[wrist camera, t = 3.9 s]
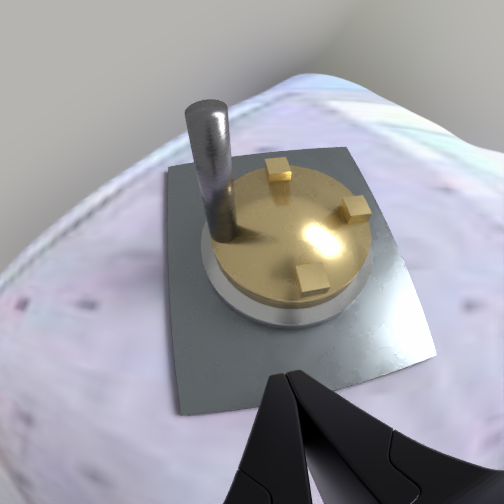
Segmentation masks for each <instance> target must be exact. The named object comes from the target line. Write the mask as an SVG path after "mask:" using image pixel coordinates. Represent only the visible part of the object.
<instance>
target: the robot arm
mask: <svg viewBox="0 0 504 504" xmlns="http://www.w3.org/2000/svg"><path fill="white" fill-rule="evenodd" d="M307 466H308V468H309V470H310V473H311V475H312V477H313V480H314V482H315V484H316V486H317V489H318V491H319V493H320V496H321V498H322V500H323V502H324V504H504V470H494V469H489V468H485V467H481V466H478V465H475V464H472V463H469V462H466V461H463V460H460V459H457V458H455V457H452V456H449V455H446V454H444V453H441V452H439V451H436V450H434V449H432V448H429V447H427V446H425V445H423V444H421V443H419V442H417V441H415V440H413V439H411V438H409V437H407V436H405V435H404V434H402V433H400V432H398V431H397V430H394V431H393V428H391V427H390V426H388V425H386V424H385V423H383V422H381V421H380V420H378V419H376V418H375V417H373V416H371V415H370V414H368V413H367V412H365V411H363V410H362V409H360V408H359V407H357V406H355V405H354V404H352V403H351V402H349V401H348V400H346V399H344V398H343V397H341V396H340V395H338V394H337V393H335V392H334V391H332V390H331V389H329V388H328V387H326V386H325V385H323V384H322V383H320V382H319V381H317V380H316V379H314V378H313V377H311V376H310V375H308V374H307V373H305V372H304V371H302V370H294V371H289V372H287V373H286V374H284V373H279V374H274V375H270V376H269V378H268V381H267V384H266V387H265V390H264V393H263V396H262V400H261V403H260V406H259V409H258V412H257V415H256V418H255V421H254V424H253V427H252V430H251V433H250V436H249V438H248V441H247V444H246V447H245V450H244V453H243V456H242V458H241V461H240V464H239V467H238V470H237V472H236V474H235V477H234V480H233V482H232V485H231V487H230V489H229V492H228V494H227V496H226V498H225V501H224V503H223V504H312V497H311V490H310V483H309V476H308V469H307Z"/></svg>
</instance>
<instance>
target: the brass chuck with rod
mask: <svg viewBox="0 0 504 504" xmlns="http://www.w3.org/2000/svg"><path fill="white" fill-rule="evenodd" d="M185 118H186V123H187V129H188V134H189V139H190V144H191V149H192V154H193V159H194V163H195V168H196V173H197V178H198V183H199V187H200V192H201V196H202V201H203V206H204V210H205V214H206V219H207V223H208V228H209V232H210V237H211V242H212V246H213V250H214V255H215V258H216V261H217V264H218V266H219V268H220V270H221V271H222V273H223V275H224V276H225V277H226V279H227V280H228V281H229V282H230V283H231V284H232V285H233V286H234V287H235V288H236V289H237V290H238V291H239V292H241V293H242V294H243V295H245V296H247V297H248V298H250V299H252V300H254V301H256V302H258V303H261V304H263V305H267V306H270V307H274V308H280V309H305V308H311V307H315V306H318V305H321V304H324V303H326V302H328V301H330V300H332V299H334V298H335V297H337V296H338V295H340V294H341V293H342V292H343V291H344V290H346V288H347V287H348V286H349V285H350V284H351V283H352V281H353V280H354V278H355V277H356V275H357V274H358V272H359V270H360V269H361V267H362V266H363V264H364V263H365V260H366V258H367V256H368V252H369V248H370V241H371V233H370V225H369V219H370V217H371V215H372V212H371V210H370V208H369V206H368V204H367V202H366V200H365V198H364V196H363V195H360V196H354V195H353V194H352V192H351V191H350V190H348V189H347V188H346V187H345V186H344V185H343V184H341V183H340V182H338V181H337V180H335V179H334V178H332V177H330V176H328V175H326V174H324V173H321V172H319V171H316V170H313V169H309V168H305V167H300V166H289V163H288V161H287V158H286V157H280V158H270V159H265V168H261V169H257V170H254V171H252V172H249V173H247V174H245V175H243V176H241V177H240V178H238V179H237V180H235V181H234V182H233V171H232V159H231V147H230V135H229V122H228V109H227V105H226V104H225V103H224V102H222V101H219V100H202V101H198V102H196V103H193V104H192V105H190V106H189V107H188V108H187V109H186V110H185Z"/></svg>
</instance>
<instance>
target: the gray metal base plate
mask: <svg viewBox="0 0 504 504" xmlns="http://www.w3.org/2000/svg"><path fill="white" fill-rule="evenodd" d="M280 157H286V158H287V161H288V163H289V166H300V167H305V168H309V169H313V170H316V171H319V172H321V173H324V174H326V175H328V176H330V177H332V178H334V179H335V180H337V181H338V182H340V183H341V184H343V185H344V186H345V187H346V188H347V189H348V190H350V191H351V192H352V194H353V195H354V196H360V195H363V196H364V198H365V200H366V202H367V204H368V206H369V208H370V210H371V212H372V215H371V217H370V219H369V225H370V233H371V241H370V248H369V252H368V256H367V258H366V260H365V263H364V264H363V266H362V267H361V269H360V270H359V272H358V274H357V275H356V277H355V278H354V280H353V281H352V283H351V284H350V285H349V286H348V287H347V288H346V290H344V291H343V292H342V293H341V294H340V295H338V296H337V297H335V298H334V299H332V300H330V301H328V302H326V303H324V304H321V305H318V306H315V307H311V308H305V309H280V308H274V307H270V306H267V305H263V304H261V303H258V302H256V301H254V300H252V299H250V298H248V297H247V296H245V295H243V294H242V293H241V292H239V291H238V290H237V289H236V288H235V287H234V286H233V285H232V284H231V283H230V282H229V281H228V280H227V279H226V277H225V276H224V275H223V273H222V271H221V270H220V268H219V266H218V264H217V261H216V258H215V255H214V250H213V246H212V242H211V237H210V232H209V228H208V223H207V219H206V214H205V210H204V206H203V201H202V196H201V192H200V187H199V183H198V178H197V173H196V168H195V163H188V164H182V165H176V166H171V167H168V208H167V231H168V274H169V296H170V312H171V327H172V339H173V350H174V361H175V370H176V379H177V387H178V395H179V403H180V410H181V416H182V415H196V414H206V413H216V412H224V411H232V410H239V409H246V408H253V407H259V406H260V403H261V400H262V396H263V393H264V390H265V387H266V384H267V381H268V378H269V376H270V375H274V374H279V373H284V374H286V373H287V372H289V371H294V370H302V371H304V372H305V373H307V374H308V375H310V376H311V377H313V378H314V379H316V380H317V381H319V382H320V383H322V384H323V385H325V386H326V387H328V388H329V389H331V390H332V391H333V390H337V389H340V388H344V387H348V386H351V385H354V384H358V383H361V382H364V381H368V380H371V379H374V378H377V377H380V376H383V375H386V374H389V373H392V372H394V371H397V370H400V369H403V368H405V367H408V366H411V365H413V364H416V363H418V362H421V361H423V360H426V359H428V358H431V357H433V356H435V355H436V351H435V348H434V344H433V341H432V338H431V335H430V331H429V328H428V325H427V322H426V319H425V316H424V313H423V310H422V307H421V305H420V302H419V299H418V296H417V294H416V291H415V288H414V286H413V283H412V281H411V278H410V275H409V273H408V270H407V268H406V266H405V263H404V261H403V258H402V256H401V254H400V251H399V249H398V247H397V244H396V242H395V240H394V238H393V236H392V233H391V231H390V229H389V227H388V225H387V223H386V220H385V218H384V216H383V214H382V212H381V210H380V208H379V206H378V204H377V202H376V200H375V198H374V196H373V194H372V192H371V190H370V189H369V187H368V185H367V183H366V181H365V179H364V177H363V175H362V174H361V172H360V170H359V168H358V166H357V165H356V163H355V161H354V159H353V158H352V156H351V154H350V152H349V151H348V149H347V147H334V148H316V149H302V150H290V151H279V152H268V153H259V154H250V155H242V156H234V157H231V159H232V171H233V182H234V181H235V180H237V179H238V178H240V177H241V176H243V175H245V174H247V173H249V172H252V171H254V170H257V169H261V168H265V159H270V158H280Z"/></svg>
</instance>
